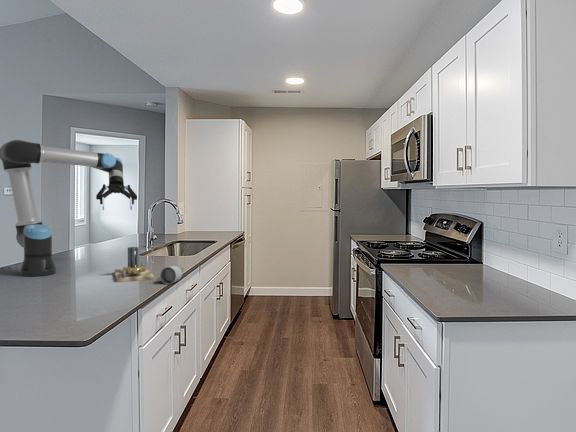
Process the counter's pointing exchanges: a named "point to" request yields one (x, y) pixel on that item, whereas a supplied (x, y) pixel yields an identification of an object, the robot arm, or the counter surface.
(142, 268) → the gear
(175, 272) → the ceramic mug
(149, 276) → the board
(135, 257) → the pinion
